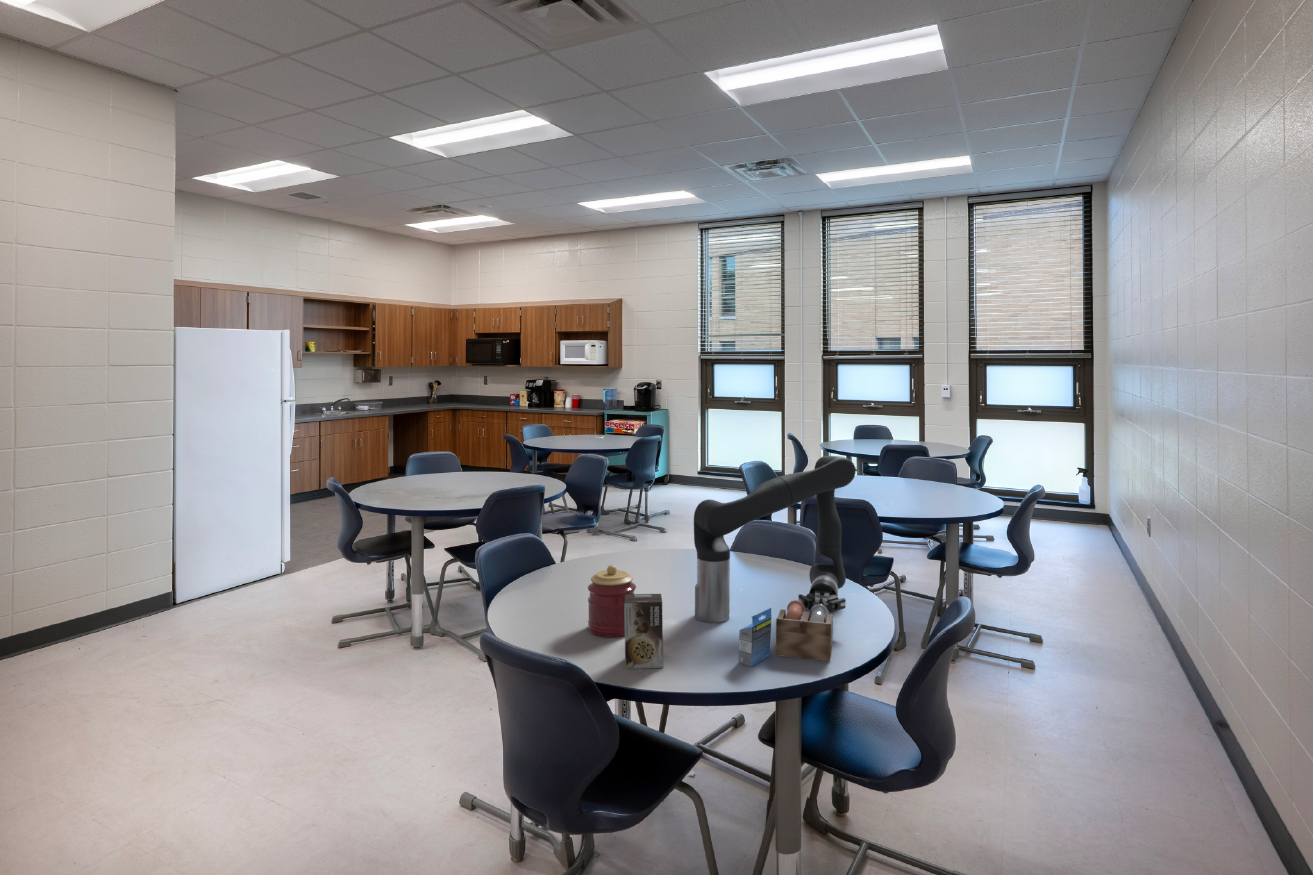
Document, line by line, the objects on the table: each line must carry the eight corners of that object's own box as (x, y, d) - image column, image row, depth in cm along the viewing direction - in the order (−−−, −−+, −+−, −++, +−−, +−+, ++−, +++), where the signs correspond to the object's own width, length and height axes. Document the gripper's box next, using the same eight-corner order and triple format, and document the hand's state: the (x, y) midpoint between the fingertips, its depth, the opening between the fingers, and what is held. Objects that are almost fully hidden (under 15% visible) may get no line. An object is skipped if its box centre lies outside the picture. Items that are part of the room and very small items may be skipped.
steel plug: (807, 632, 175) (807, 615, 175) (810, 619, 185) (810, 602, 184) (825, 634, 174) (826, 616, 174) (828, 621, 183) (828, 604, 183)
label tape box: (757, 651, 179) (757, 603, 177) (771, 656, 176) (772, 607, 175) (737, 663, 172) (738, 613, 171) (752, 667, 169) (753, 616, 168)
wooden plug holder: (775, 655, 176) (776, 618, 176) (780, 642, 184) (780, 607, 184) (830, 661, 173) (831, 624, 172) (832, 648, 181) (832, 612, 180)
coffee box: (662, 657, 175) (662, 593, 173) (663, 668, 168) (663, 601, 167) (624, 658, 175) (624, 593, 173) (624, 669, 168) (624, 601, 167)
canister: (629, 640, 186) (629, 573, 185) (581, 636, 189) (581, 570, 187) (641, 622, 199) (640, 560, 197) (595, 619, 202) (595, 557, 200)
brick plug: (782, 628, 178) (783, 611, 178) (787, 616, 187) (787, 599, 187) (800, 630, 177) (801, 612, 177) (804, 617, 186) (804, 601, 186)
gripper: (799, 576, 202) (793, 595, 185) (848, 580, 198) (846, 599, 181) (799, 602, 202) (792, 623, 186) (848, 607, 199) (845, 628, 182)
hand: (819, 611), depth 184 cm, fingers closed
